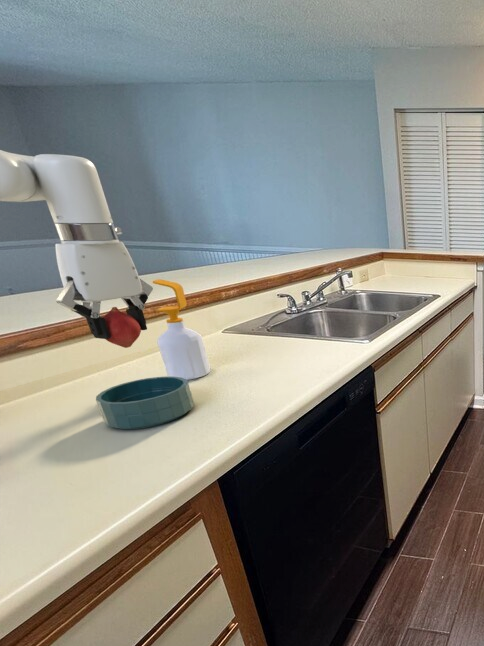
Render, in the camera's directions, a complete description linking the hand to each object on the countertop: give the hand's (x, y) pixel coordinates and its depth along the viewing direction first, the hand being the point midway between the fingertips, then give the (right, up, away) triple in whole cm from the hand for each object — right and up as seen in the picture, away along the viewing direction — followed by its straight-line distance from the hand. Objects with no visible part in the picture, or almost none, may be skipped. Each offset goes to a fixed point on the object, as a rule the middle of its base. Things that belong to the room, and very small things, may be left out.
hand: (121, 332), depth 81 cm
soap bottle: (-10, -8, +30) cm, 33 cm away
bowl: (-1, -16, +8) cm, 18 cm away
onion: (0, -3, +1) cm, 3 cm away
